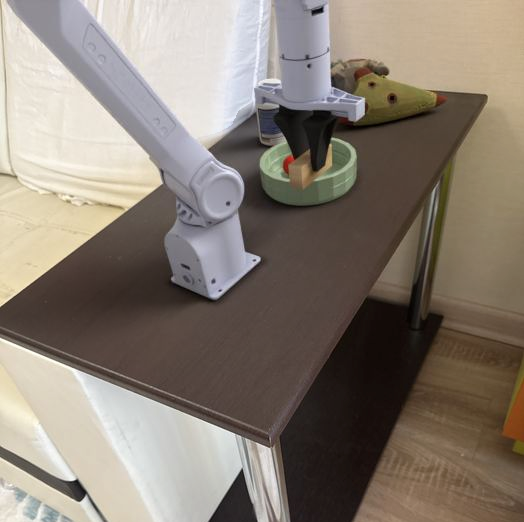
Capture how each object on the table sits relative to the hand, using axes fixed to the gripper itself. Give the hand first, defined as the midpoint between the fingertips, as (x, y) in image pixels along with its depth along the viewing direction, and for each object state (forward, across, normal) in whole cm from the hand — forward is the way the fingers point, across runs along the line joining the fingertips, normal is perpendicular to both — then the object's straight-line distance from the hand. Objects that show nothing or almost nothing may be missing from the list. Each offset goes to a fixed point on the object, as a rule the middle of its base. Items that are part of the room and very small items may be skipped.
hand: (311, 166), depth 68 cm
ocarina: (+8, +5, -33) cm, 34 cm away
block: (+1, 0, 0) cm, 1 cm away
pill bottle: (+9, +21, -19) cm, 30 cm away
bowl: (+8, +7, -9) cm, 14 cm away
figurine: (+3, +14, -34) cm, 37 cm away
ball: (+6, +10, -9) cm, 15 cm away
